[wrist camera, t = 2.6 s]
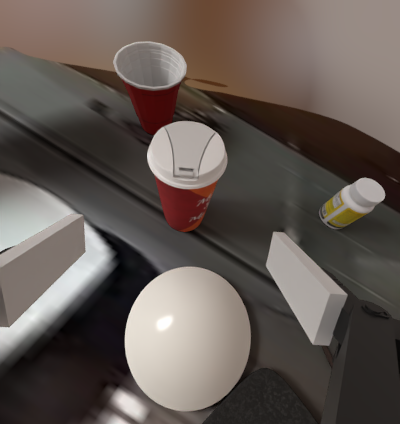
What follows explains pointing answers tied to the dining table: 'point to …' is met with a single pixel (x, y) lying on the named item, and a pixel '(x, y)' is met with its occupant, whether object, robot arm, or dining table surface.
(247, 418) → the sushi plate
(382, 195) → the supplement bottle
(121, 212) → the dining table surface
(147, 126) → the plastic cup
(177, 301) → the white round disc
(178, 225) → the coffee cup
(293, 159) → the dining table surface
